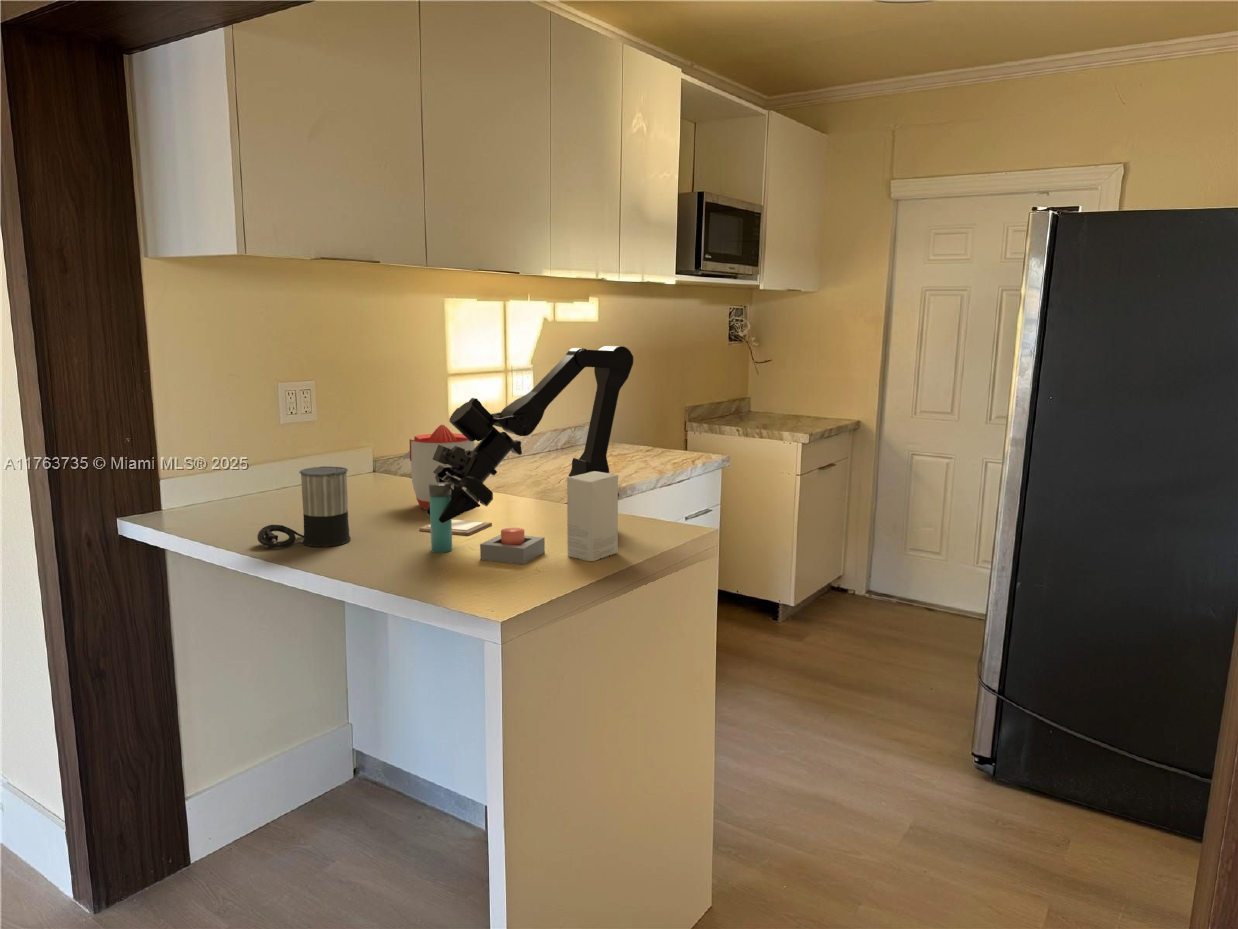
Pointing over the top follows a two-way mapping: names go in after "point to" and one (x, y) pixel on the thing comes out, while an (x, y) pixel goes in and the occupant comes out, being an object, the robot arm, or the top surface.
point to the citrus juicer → (431, 458)
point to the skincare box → (592, 515)
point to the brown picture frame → (462, 527)
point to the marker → (438, 503)
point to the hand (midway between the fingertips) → (433, 517)
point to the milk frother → (318, 510)
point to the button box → (512, 550)
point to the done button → (512, 536)
